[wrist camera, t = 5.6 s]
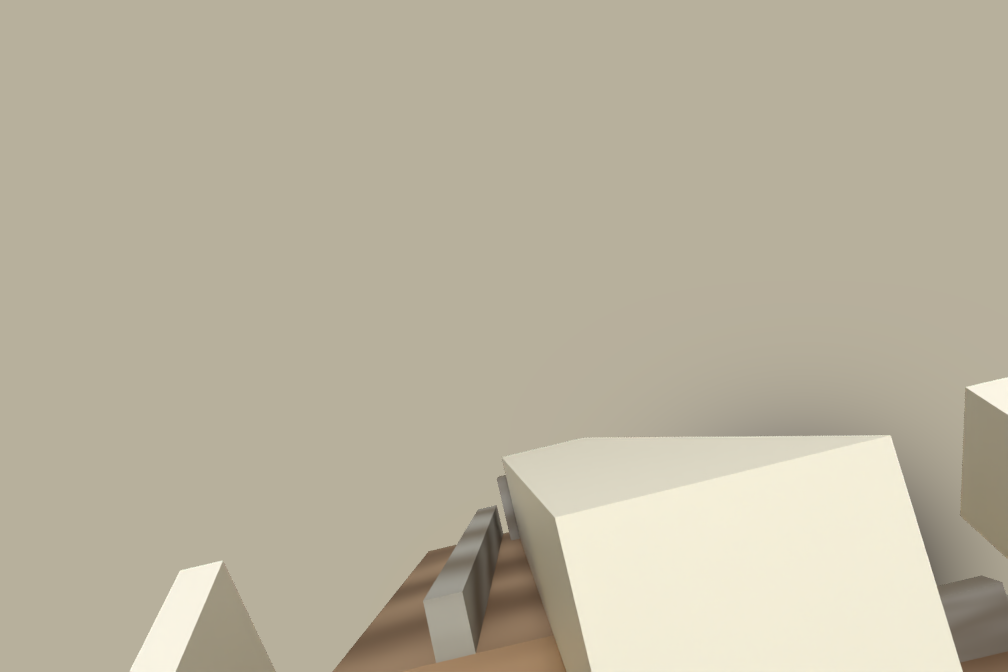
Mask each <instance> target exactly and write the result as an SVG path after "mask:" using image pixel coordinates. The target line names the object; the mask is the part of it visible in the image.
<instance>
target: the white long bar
mask: <svg viewBox="0 0 1008 672" xmlns="http://www.w3.org/2000/svg"><path fill="white" fill-rule="evenodd" d="M502 461H503V465H504V470H505V474H506V478H507V483H508V487H509V491H510V496H511V500H512V504H513V509H514V513H515V517H516V522H517V526H518V530H519V535H520V539H521V543H522V546H523V549H524V551H525V554H526V557H527V560H528V563H529V566H530V569H531V571H532V574H533V577H534V580H535V583H536V586H537V589H538V592H539V594H540V597H541V600H542V603H543V606H544V609H545V612H546V614H547V617H548V620H549V623H550V626H551V629H552V632H553V635H554V637H555V640H556V643H557V646H558V649H559V652H560V655H561V658H562V660H563V663H564V666H565V669H566V672H963V671H962V667H961V664H960V661H959V658H958V654H957V651H956V648H955V644H954V641H953V638H952V635H951V631H950V628H949V625H948V622H947V618H946V615H945V612H944V609H943V605H942V602H941V599H940V595H939V592H938V589H937V586H936V583H935V579H934V576H933V573H932V569H931V566H930V563H929V560H928V557H927V553H926V550H925V547H924V543H923V540H922V537H921V533H920V530H919V527H918V524H917V520H916V517H915V514H914V511H913V507H912V504H911V501H910V498H909V494H908V491H907V488H906V485H905V481H904V478H903V475H902V471H901V468H900V465H899V462H898V458H897V455H896V452H895V449H894V445H893V442H892V439H891V436H890V435H882V436H881V435H877V436H875V435H874V436H760V437H759V436H750V437H747V436H743V437H626V438H625V437H620V438H619V437H618V438H617V437H614V438H580V439H576V440H572V441H567V442H563V443H559V444H555V445H551V446H546V447H543V448H538V449H535V450H530V451H526V452H521V453H517V454H513V455H509V456H505V457H502Z"/></svg>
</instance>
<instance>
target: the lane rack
mask: <svg viewBox="0 0 1008 672" xmlns="http://www.w3.org/2000/svg"><path fill="white" fill-rule="evenodd" d="M497 481H498V486H499V490H500V494H501V498H502V503H503V507H504V512H505V516H506V521H507V525H508V529H509V533H505V534H503V531H502V527H501V523H500V518H499V514H498V509H497V506H492V507H487V508H483V509H479V510H478V511H477V512H476V514H475V516H474V517H473V519H472V521H471V522H470V524H469V526H468V528H467V529H466V531H465V532H464V534H463V536H462V538H461V539H460V541H459V542H458V544H457V545H454V546H449V547H445V548H441V549H437V550H433V551H429V552H428V553H427V554H426V556H425V557H424V558H423V559H422V561H421V562H420V563H419V564H418V566H417V567H416V568H415V569H414V571H413V572H412V573H411V574H410V576H409V577H408V578H407V579H406V581H405V582H404V583H403V584H402V586H401V587H400V588H399V589H398V591H397V592H396V593H395V594H394V596H393V597H392V598H391V599H390V601H389V602H388V603H387V604H386V606H385V607H384V608H383V609H382V611H381V612H380V613H379V614H378V616H377V617H376V618H375V619H374V621H373V622H372V623H371V624H370V626H369V627H368V628H367V629H366V631H365V632H364V633H363V634H362V636H361V637H360V638H359V639H358V641H357V642H356V643H355V644H354V646H353V647H352V648H351V650H350V651H349V652H348V653H347V654H346V656H345V657H344V658H343V659H342V661H341V662H340V663H339V664H338V666H337V667H336V668H335V669H334V671H333V672H566V669H565V666H564V663H563V660H562V658H561V655H560V652H559V649H558V646H557V643H556V640H555V637H554V635H553V632H552V629H551V626H550V623H549V620H548V617H547V614H546V612H545V609H544V606H543V603H542V600H541V597H540V594H539V592H538V589H537V586H536V583H535V580H534V577H533V574H532V571H531V569H530V566H529V563H528V560H527V557H526V554H525V551H524V549H523V546H522V543H521V539H520V535H519V530H518V526H517V522H516V517H515V513H514V509H513V504H512V500H511V496H510V491H509V487H508V483H507V478H506V475H504V476H500V477H498V478H497ZM937 589H938V592H939V595H940V599H941V602H942V605H943V609H944V612H945V615H946V618H947V622H948V625H949V628H950V631H951V635H952V638H953V641H954V644H955V648H956V651H957V654H958V658H959V661H960V664H961V667H962V671H963V672H1008V595H1006V593H1005V590H1004V587H1003V584H1002V582H1000V581H997V580H993V579H990V578H987V577H984V576H978V577H974V578H970V579H965V580H961V581H957V582H953V583H949V584H944V585H940V586H937Z"/></svg>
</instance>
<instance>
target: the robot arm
mask: <svg viewBox="0 0 1008 672" xmlns="http://www.w3.org/2000/svg"><path fill="white" fill-rule="evenodd" d="M963 438H964V439H963V462H962V463H963V464H962V488H961V511H960V516H961V517H962V518H963V519H964V520H965V521H967V522H968V523H969V524H970V525H971V526H972V527H973V528H974V529H975V530H976V531H978V532H979V533H980V534H981V535H982V536H983V537H984V538H985V539H986V540H988V541H989V542H990V543H991V544H992V545H993V546H994V547H995V548H996V549H997V550H998V551H1000V552H1001V553H1002V554H1003V555H1004V556H1005V557H1006V558H1007V559H1008V378H1003V379H998V380H994V381H990V382H986V383H982V384H977V385H973V386H969V387H966V388H965V412H964V437H963ZM130 672H276V671H275V669H274V667H273V665H272V663H271V661H270V659H269V656H268V654H267V652H266V650H265V648H264V646H263V644H262V642H261V639H260V638H259V635H258V633H257V631H256V629H255V627H254V625H253V623H252V621H251V618H250V616H249V614H248V612H247V610H246V608H245V606H244V604H243V602H242V599H241V597H240V595H239V593H238V591H237V589H236V587H235V585H234V583H233V580H232V578H231V576H230V574H229V572H228V570H227V568H226V566H225V564H224V562H223V561H219V562H215V563H210V564H206V565H202V566H197V567H193V568H189V569H185V570H181V571H180V572H179V574H178V576H177V578H176V580H175V582H174V584H173V586H172V588H171V590H170V592H169V594H168V596H167V598H166V600H165V602H164V604H163V606H162V608H161V610H160V612H159V614H158V616H157V618H156V620H155V622H154V624H153V626H152V628H151V630H150V632H149V634H148V636H147V638H146V640H145V642H144V644H143V646H142V648H141V650H140V652H139V654H138V656H137V658H136V660H135V662H134V664H133V666H132V668H131V670H130Z"/></svg>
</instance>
